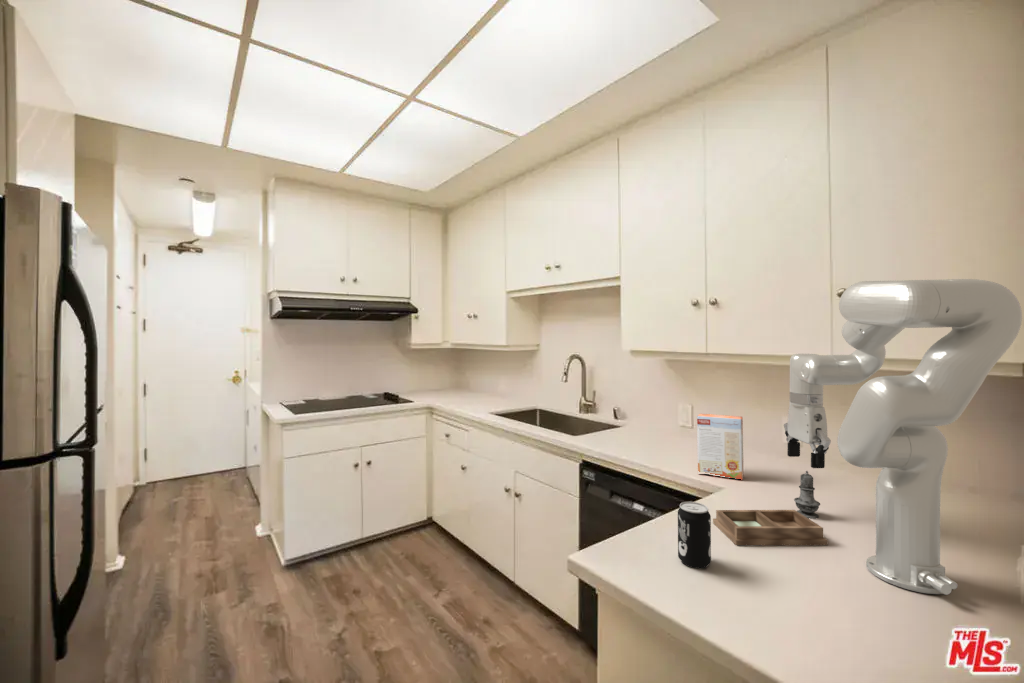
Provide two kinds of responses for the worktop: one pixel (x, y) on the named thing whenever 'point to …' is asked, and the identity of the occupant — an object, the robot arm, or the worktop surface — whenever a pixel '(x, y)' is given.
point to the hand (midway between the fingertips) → (805, 461)
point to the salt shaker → (807, 497)
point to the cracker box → (720, 445)
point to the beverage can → (694, 534)
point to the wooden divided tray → (769, 527)
